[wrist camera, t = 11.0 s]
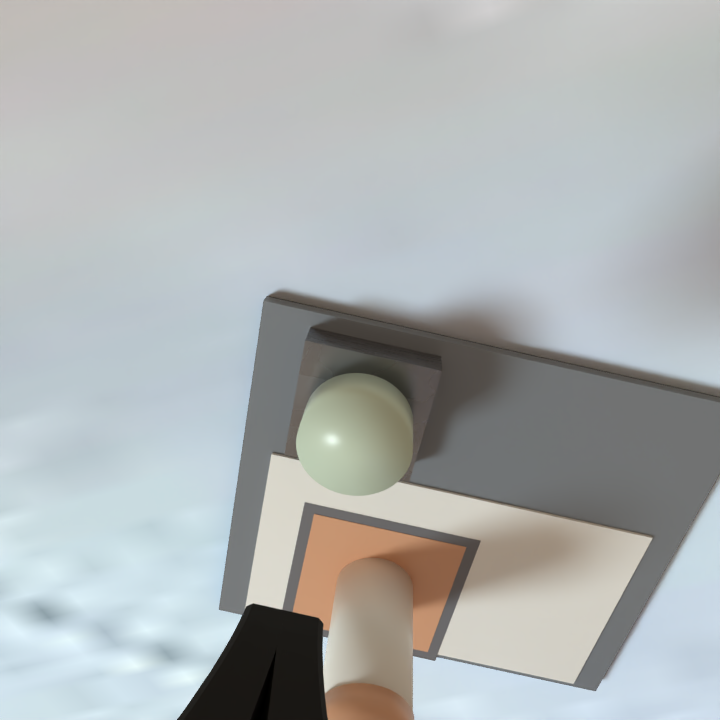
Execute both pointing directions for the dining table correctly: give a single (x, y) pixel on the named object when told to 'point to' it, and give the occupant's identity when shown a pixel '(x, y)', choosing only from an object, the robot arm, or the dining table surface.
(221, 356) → the dining table surface
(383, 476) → the button
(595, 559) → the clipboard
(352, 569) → the marker
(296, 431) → the button housing
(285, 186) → the dining table surface
